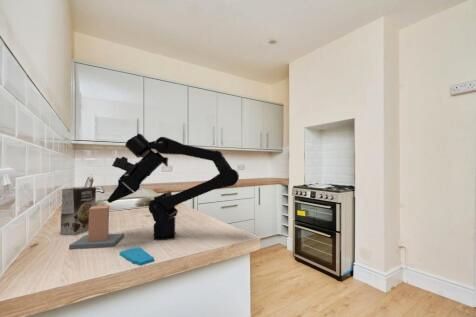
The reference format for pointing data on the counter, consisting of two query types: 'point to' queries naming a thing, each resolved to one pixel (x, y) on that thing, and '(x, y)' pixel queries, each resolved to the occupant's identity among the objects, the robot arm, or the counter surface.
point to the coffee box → (76, 209)
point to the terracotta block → (98, 223)
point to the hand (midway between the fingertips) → (109, 200)
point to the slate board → (96, 242)
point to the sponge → (137, 256)
